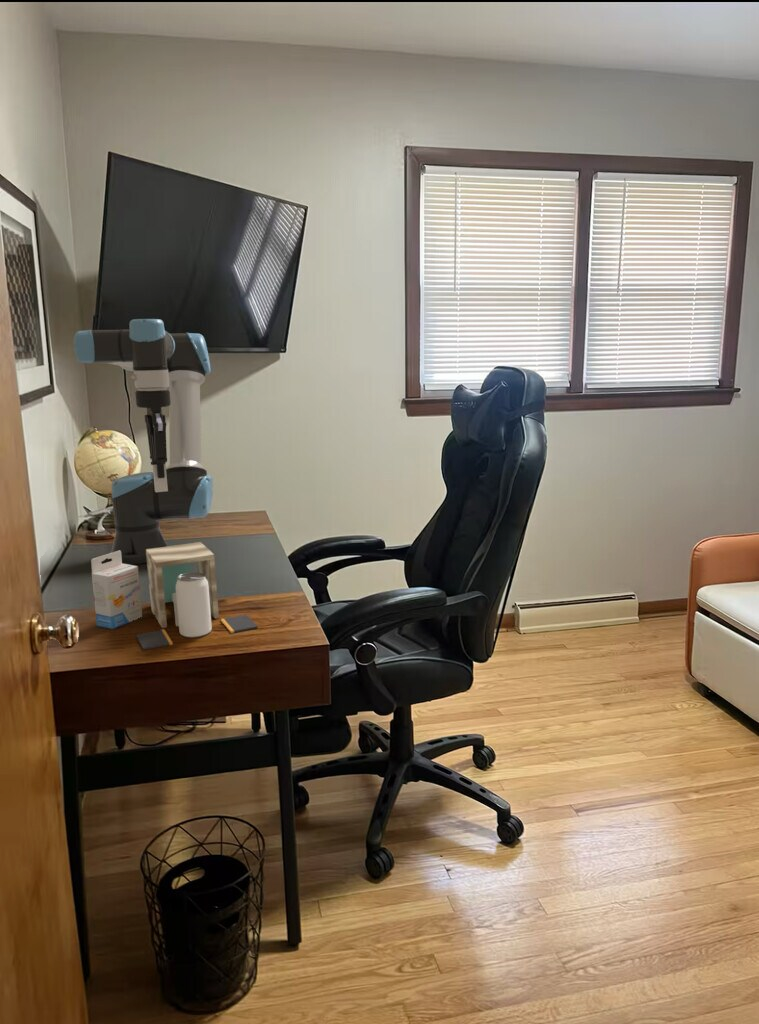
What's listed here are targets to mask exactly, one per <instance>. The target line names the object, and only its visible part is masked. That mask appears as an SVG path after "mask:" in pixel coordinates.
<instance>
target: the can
mask: <svg viewBox="0 0 759 1024" xmlns="http://www.w3.org/2000/svg"><path fill="white" fill-rule="evenodd" d="M205 576H206V575H205V574H204V573H199V572H197V571H196V572H195V571H191V573H185V574H181V575H179V576H178V577H177V579H178V580H177V583H176V598H177V610H178V622H179V626H178V629H179V634H180V636H182V637H185V638H200V637H204V636H206V635H208V634H210V632H211V631H212V627H213V626H212V615H211V612H210V599H209V586H208V581H207V579H206V578H205Z"/></svg>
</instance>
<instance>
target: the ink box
mask: <svg viewBox="0 0 759 1024" xmlns="http://www.w3.org/2000/svg"><path fill="white" fill-rule="evenodd" d="M106 559H107V560H110V559H111V561H107V562H104V561H105V560H106ZM102 562H104V563H102ZM90 563H91V567H90V568H91V580H92V581H91V583H92V590H93V591H92V592H93V599H94V608H95V609H94V612H95V617H96V618H95V619H96V626H97V627H99V628H100V627H101V628H107V629H111V630H114V629H117V628H119V627H122V626H124V625H126V624H129V623H131V622H134V621H136V620H138V618H139V619H141V618H143V611H142V608H143V607H142V601H141V600H142V599H141V588H140V577H139V566H138V565H134V564H122V557H121V551H120V550H119V551H116V552H112V553H111V552H110V553H106V554H103V555H99V556H97V557H94V558H91V561H90ZM140 617H141V618H140ZM133 620H134V621H133Z"/></svg>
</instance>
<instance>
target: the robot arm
mask: <svg viewBox="0 0 759 1024" xmlns="http://www.w3.org/2000/svg"><path fill="white" fill-rule="evenodd" d="M73 350H74V354H75V357H76V359H77V361H78V362H80V363H83V364H109V365H115V366H119V367H120V368H122V369H123V370H126V371H128V372H132V373H133V374H132V375H130V379H132V380H134V387H135V388H136V389H137V390H136V392H134V393H135V403H136V406H137V408H143V409H146V414H145V415H144V422H145V426H146V427H145V428H146V433H147V441H148V449H149V450H148V451H149V459H150V460H151V461H150V465H151V466H152V471H149V472H147V471H145V472H137V473H131V474H129V475H128V474H127V475H125V476H121V477H118V478H116V479H115V480H113V482H111V497H110V498H111V500H112V510H113V516H114V527H115V528H114V529H115V535H114V537H113V538H114V539H113V544H112V547H111V552H110V553H112V552H116V551H119V550H120V551H121V557H122V564H128V565H139V564H147V557H146V549H152V548H159V547H167V546H168V544H167V542H166V540H165V538H164V535H163V533H162V530H161V528H160V521H161V520H162V521H163V520H164V521H165V520H183V519H186V520H187V519H190V520H193V519H199V518H205V517H207V516H208V515H209V513H210V510H211V507H212V501H213V494H214V487H213V486H214V482H213V477H212V476H211V475H209V474H208V472H207V471H208V470H207V469H206V468H205V467H204V466H203V465H202V441H201V440H202V438H201V436H202V432H201V428H202V427H201V385H203V383H205V381H206V375H207V376H208V375H210V374H211V361H210V356H209V351H208V347H207V343H206V340H205V337H204V335H202V334H200V333H195V332H194V333H192V332H190V333H189V332H185V333H183V332H181V333H169V332H168V331H166V330H165V324H164V321H163V320H162V319H158V318H136V319H134V318H133V319H131V320H130V321H129V329H95V330H94V329H87V330H78V331H76V332H75V334H74V336H73ZM164 407H165V408H166V407H168V411H169V412H168V413H169V414H168V415H169V416H168V417H169V421H168V422H169V425H168V426H169V427H168V428H169V430H168V431H169V434H168V437H169V439H168V440H169V441H168V442H169V443H168V444H169V445H168V447H169V464H168V466H167V464H166V463H168V453H167V452H168V451H167V422H166V415H165V414H163V410H162V408H164Z"/></svg>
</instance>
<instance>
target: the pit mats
mask: <svg viewBox="0 0 759 1024" xmlns="http://www.w3.org/2000/svg"><path fill="white" fill-rule="evenodd" d="M220 622H221V623H222V624H223V625H224V627H226V629H227V630H228V632H229V633H230V634H233V633H239V632H240V633H241V632H245V631H250V630H254V629H256V630H257V629H258V628H259V627H258V625H257V624H256V623H255V622H254V621H253V620H252V618H250V616H248V614H242V615H241V614H240V615H235V616H231V617H226V618H220ZM135 637H136V638H137V640H138V642H139V644H140V646H141V648H142V650H143V651H146V650H153V649H157V648H162V647H168V646H173V645H174V642H173V641H172V639H171V637H170V636H169V634H168V633H167V631H166V630H165V628H162V629H160V630H159V629H158V630H154V631H148V632H143V633H137V634H136V636H135Z"/></svg>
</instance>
